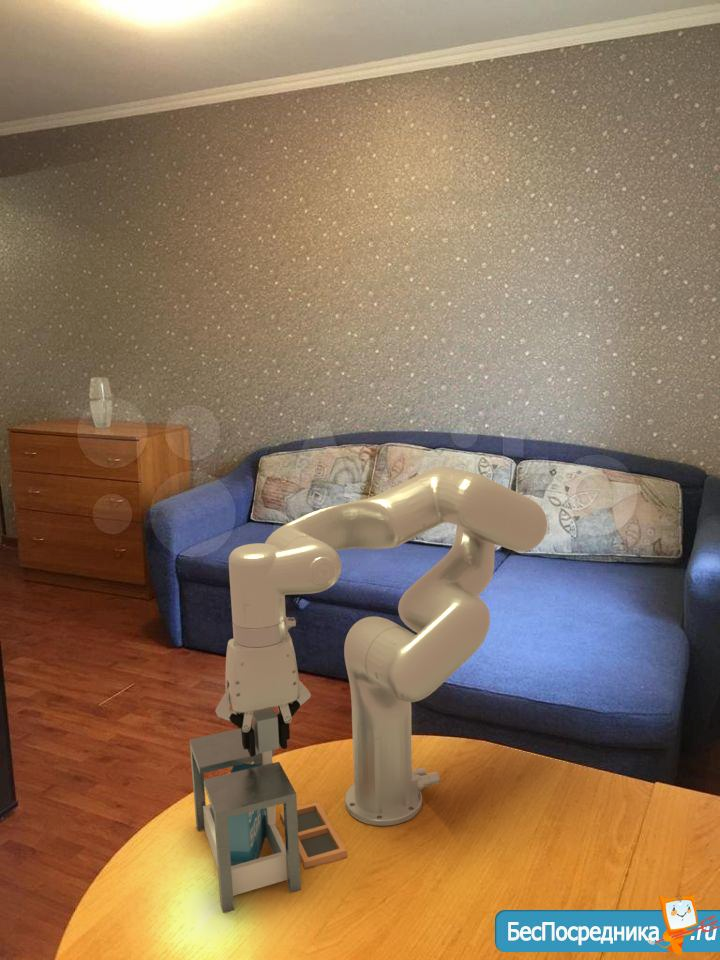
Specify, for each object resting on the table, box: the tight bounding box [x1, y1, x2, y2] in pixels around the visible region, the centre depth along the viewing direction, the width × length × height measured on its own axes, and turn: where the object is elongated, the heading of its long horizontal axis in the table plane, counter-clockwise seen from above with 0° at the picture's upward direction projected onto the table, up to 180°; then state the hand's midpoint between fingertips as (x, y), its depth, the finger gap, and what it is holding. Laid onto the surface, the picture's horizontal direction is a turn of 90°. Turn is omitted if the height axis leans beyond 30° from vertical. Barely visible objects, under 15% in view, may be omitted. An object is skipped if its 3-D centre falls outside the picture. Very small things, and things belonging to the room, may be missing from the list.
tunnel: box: [189, 725, 302, 914], centre depth 115 cm, size 11×20×15 cm, turn 22°
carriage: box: [203, 707, 287, 897], centre depth 114 cm, size 10×16×22 cm, turn 22°
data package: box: [228, 763, 266, 866], centre depth 115 cm, size 12×4×12 cm, turn 175°
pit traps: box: [279, 801, 348, 870], centre depth 120 cm, size 6×13×1 cm, turn 22°
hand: (266, 747), depth 114 cm, fingers open, 4 cm apart
